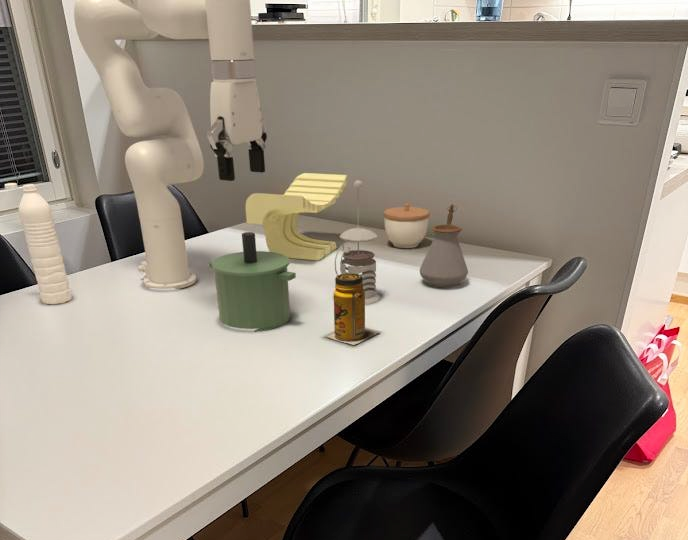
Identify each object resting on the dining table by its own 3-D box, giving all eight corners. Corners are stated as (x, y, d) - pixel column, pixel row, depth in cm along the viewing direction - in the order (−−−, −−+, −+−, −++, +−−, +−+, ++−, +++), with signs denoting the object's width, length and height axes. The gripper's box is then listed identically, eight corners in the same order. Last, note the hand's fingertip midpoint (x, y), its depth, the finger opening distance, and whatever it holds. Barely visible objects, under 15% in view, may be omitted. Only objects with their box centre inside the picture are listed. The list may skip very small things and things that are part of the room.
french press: (389, 296, 154) (391, 179, 141) (354, 309, 147) (353, 188, 134) (357, 287, 160) (356, 174, 147) (322, 300, 153) (318, 182, 140)
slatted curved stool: (297, 236, 202) (294, 172, 192) (347, 240, 197) (346, 175, 187) (250, 263, 178) (244, 192, 169) (305, 269, 173) (302, 195, 164)
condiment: (325, 337, 134) (323, 277, 128) (352, 325, 139) (352, 267, 133) (353, 346, 130) (353, 284, 124) (380, 333, 135) (381, 273, 129)
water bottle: (77, 296, 158) (51, 181, 144) (62, 305, 152) (33, 187, 139) (43, 294, 159) (14, 181, 146) (27, 303, 154) (-5, 186, 141)
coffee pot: (465, 291, 157) (471, 224, 149) (416, 288, 159) (418, 222, 151) (471, 265, 174) (476, 204, 166) (426, 263, 176) (429, 203, 168)
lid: (260, 283, 129) (258, 247, 125) (196, 272, 135) (192, 238, 132) (304, 262, 140) (302, 229, 137) (242, 253, 147) (239, 221, 143)
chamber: (275, 338, 134) (271, 281, 128) (196, 322, 142) (188, 267, 136) (313, 315, 145) (311, 261, 139) (237, 301, 153) (232, 249, 147)
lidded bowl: (430, 250, 187) (432, 208, 181) (384, 251, 187) (384, 209, 181) (425, 238, 197) (427, 199, 192) (382, 239, 198) (383, 199, 192)
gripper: (245, 69, 127) (253, 167, 136) (185, 74, 115) (198, 182, 124) (278, 70, 124) (284, 170, 133) (220, 75, 112) (231, 185, 121)
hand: (242, 175), depth 129 cm, fingers open, 9 cm apart
